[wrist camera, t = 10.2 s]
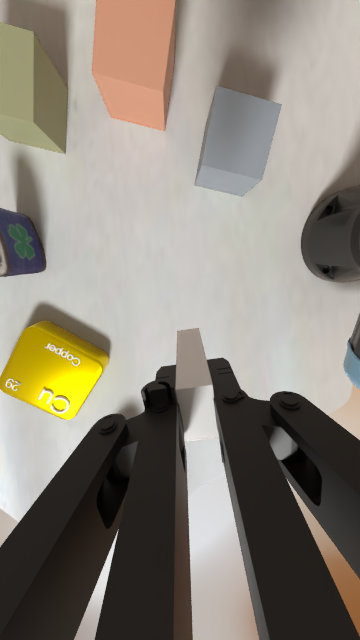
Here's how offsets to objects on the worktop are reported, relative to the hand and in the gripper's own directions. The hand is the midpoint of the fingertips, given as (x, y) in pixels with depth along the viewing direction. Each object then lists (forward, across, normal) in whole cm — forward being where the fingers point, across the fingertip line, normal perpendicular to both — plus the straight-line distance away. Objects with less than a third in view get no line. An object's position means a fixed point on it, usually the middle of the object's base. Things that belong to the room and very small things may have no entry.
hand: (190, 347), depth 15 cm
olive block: (+25, -17, +28) cm, 41 cm away
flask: (+24, -24, +11) cm, 36 cm away
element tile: (+24, -26, -12) cm, 38 cm away
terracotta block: (+26, -2, +29) cm, 39 cm away
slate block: (+26, +9, +18) cm, 33 cm away
